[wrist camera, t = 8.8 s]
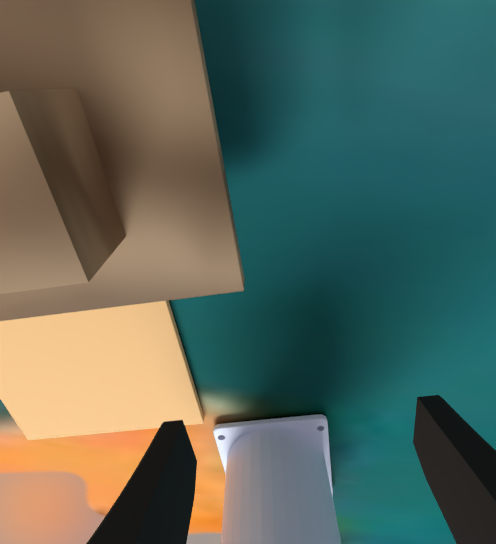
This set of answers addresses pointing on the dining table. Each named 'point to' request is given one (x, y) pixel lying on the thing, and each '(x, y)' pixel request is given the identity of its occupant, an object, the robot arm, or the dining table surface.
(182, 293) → the lid
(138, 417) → the mat
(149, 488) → the robot arm
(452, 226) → the dining table surface
